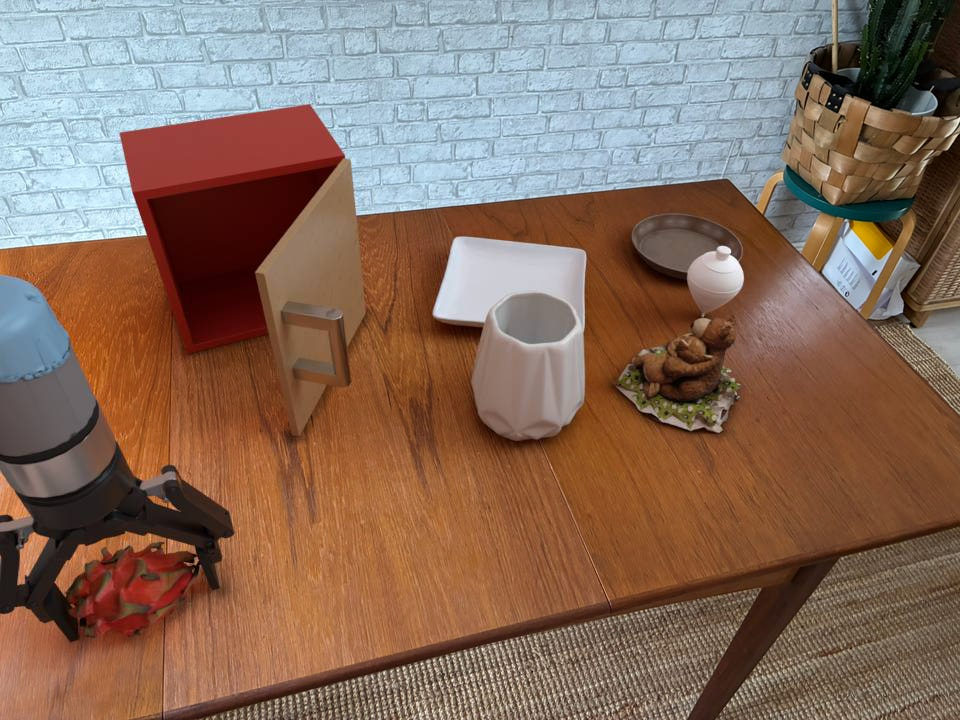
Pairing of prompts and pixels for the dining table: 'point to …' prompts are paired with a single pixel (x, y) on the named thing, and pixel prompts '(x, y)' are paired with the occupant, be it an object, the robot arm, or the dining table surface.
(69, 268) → the dining table surface
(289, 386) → the cabinet door
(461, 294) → the plate
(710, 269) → the spinning top
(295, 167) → the cabinet
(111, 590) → the dragon fruit
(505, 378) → the vase
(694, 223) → the plant saucer
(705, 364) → the bear figurine
